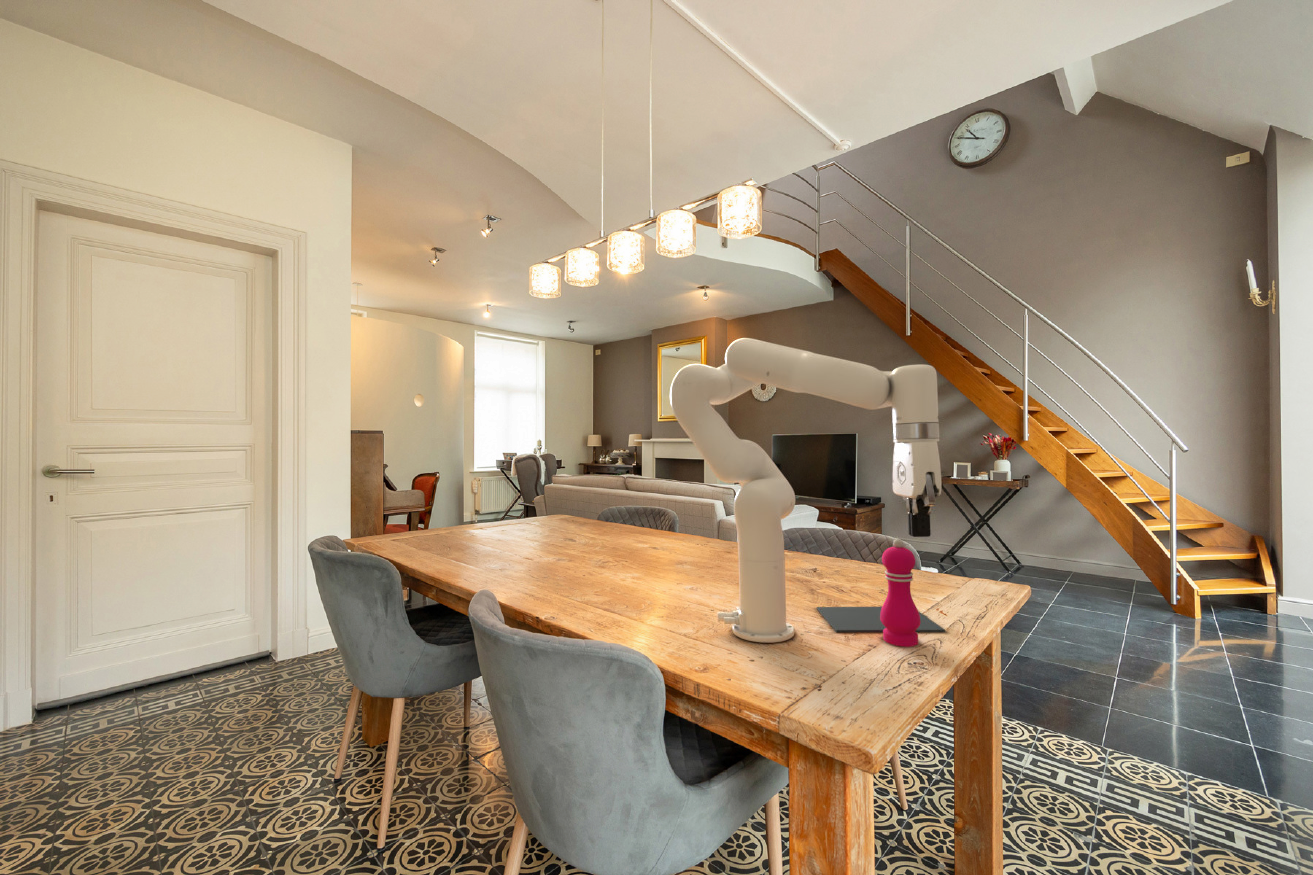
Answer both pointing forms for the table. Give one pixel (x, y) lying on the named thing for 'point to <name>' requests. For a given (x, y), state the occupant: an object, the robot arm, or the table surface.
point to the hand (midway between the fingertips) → (919, 535)
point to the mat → (866, 620)
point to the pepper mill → (899, 598)
